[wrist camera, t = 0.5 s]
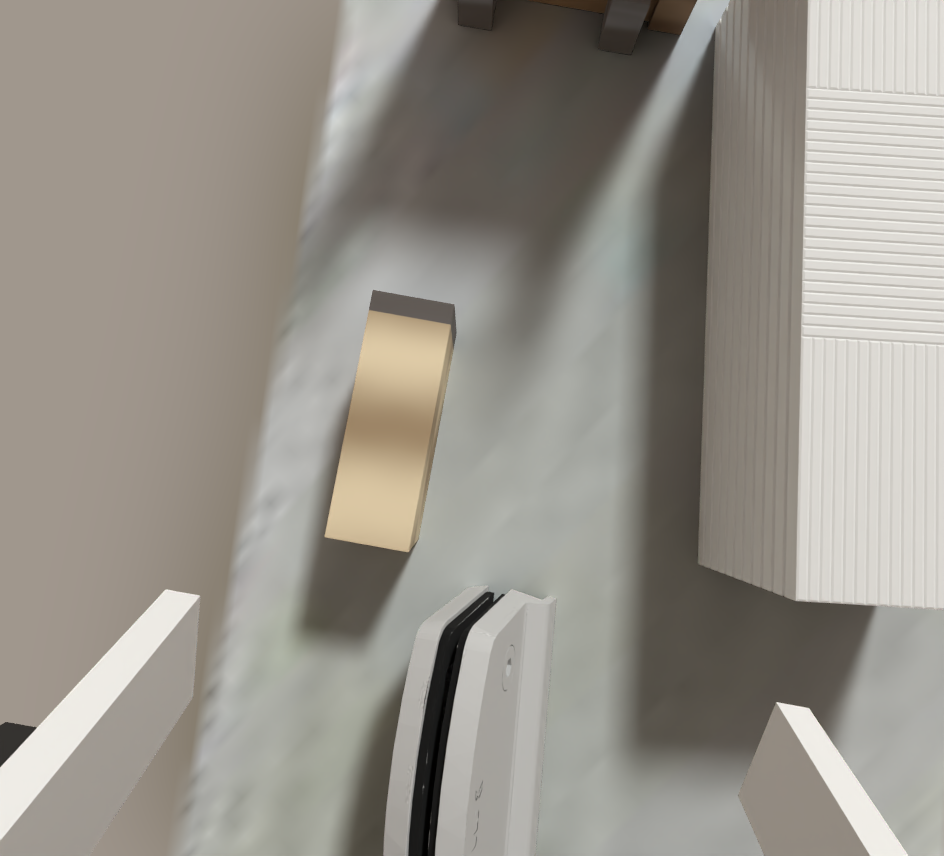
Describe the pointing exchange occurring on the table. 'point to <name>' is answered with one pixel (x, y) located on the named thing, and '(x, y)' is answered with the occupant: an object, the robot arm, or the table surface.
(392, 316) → the tan wooden block
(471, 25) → the wooden cleated plank
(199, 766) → the table surface
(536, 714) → the white rounded block
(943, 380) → the white ribbed block
